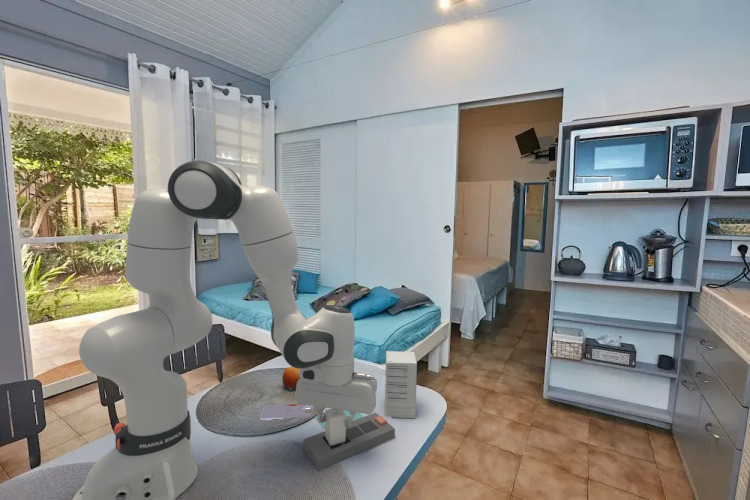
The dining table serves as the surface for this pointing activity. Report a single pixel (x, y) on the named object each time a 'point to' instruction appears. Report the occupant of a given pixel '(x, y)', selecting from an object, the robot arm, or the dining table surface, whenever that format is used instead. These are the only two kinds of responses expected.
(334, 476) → the dining table surface
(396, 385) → the supplement box
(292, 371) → the fruit
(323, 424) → the teal mat
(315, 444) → the power strip
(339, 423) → the charger plug
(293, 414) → the mobile phone
